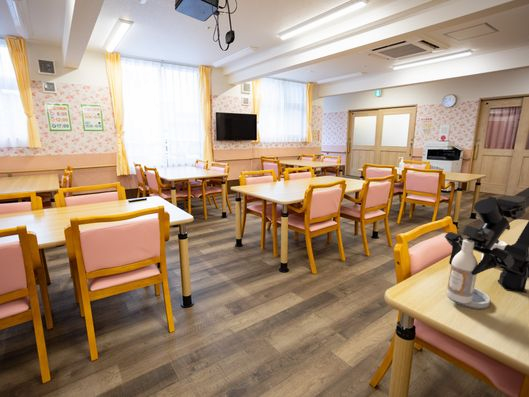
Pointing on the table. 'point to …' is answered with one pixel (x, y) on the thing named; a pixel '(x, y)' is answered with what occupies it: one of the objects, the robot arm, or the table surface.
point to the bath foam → (462, 274)
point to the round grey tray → (477, 300)
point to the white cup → (500, 245)
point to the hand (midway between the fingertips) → (460, 269)
